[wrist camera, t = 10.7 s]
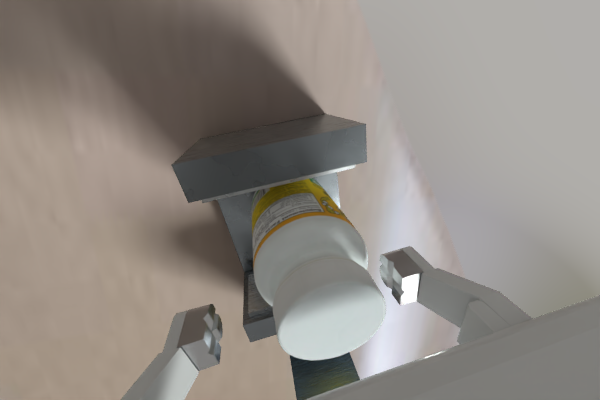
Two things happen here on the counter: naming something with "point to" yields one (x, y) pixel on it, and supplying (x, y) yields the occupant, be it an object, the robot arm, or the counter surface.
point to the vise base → (268, 166)
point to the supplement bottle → (313, 272)
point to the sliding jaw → (306, 373)
